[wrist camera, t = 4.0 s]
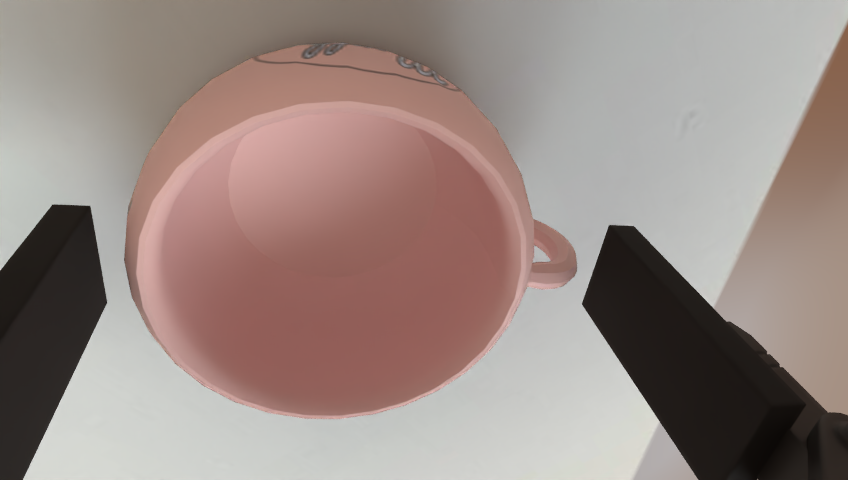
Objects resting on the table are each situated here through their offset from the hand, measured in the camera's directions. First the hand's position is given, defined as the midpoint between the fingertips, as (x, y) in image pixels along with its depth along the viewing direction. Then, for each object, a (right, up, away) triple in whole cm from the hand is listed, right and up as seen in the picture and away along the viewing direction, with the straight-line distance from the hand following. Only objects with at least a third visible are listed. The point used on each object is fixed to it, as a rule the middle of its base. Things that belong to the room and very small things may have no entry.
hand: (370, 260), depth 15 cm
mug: (-1, +3, +4) cm, 5 cm away
